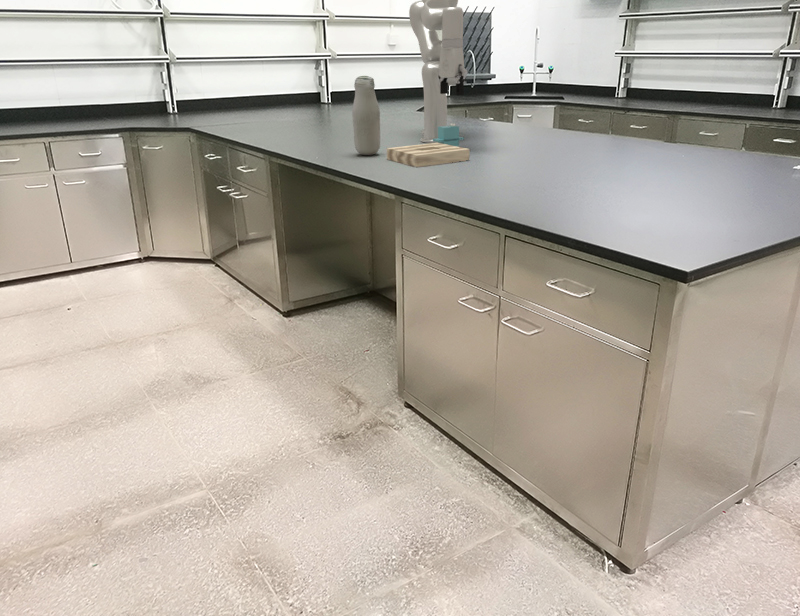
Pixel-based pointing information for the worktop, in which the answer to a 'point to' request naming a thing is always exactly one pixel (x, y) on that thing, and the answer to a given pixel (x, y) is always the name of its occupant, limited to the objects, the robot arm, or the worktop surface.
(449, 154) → the tan flat slab
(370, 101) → the grey bottle
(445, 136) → the servo
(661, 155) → the worktop surface
